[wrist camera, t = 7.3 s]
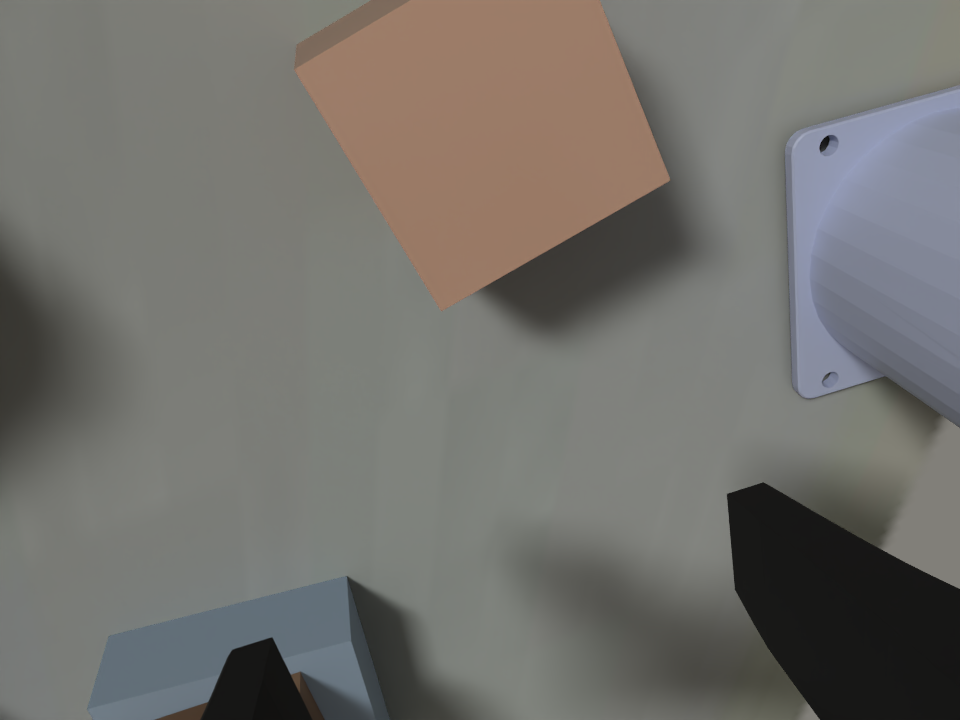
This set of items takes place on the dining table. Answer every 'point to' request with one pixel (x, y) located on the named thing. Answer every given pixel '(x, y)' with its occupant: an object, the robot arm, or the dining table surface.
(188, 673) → the blue slab
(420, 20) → the terracotta block
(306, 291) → the dining table surface
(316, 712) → the walnut block
